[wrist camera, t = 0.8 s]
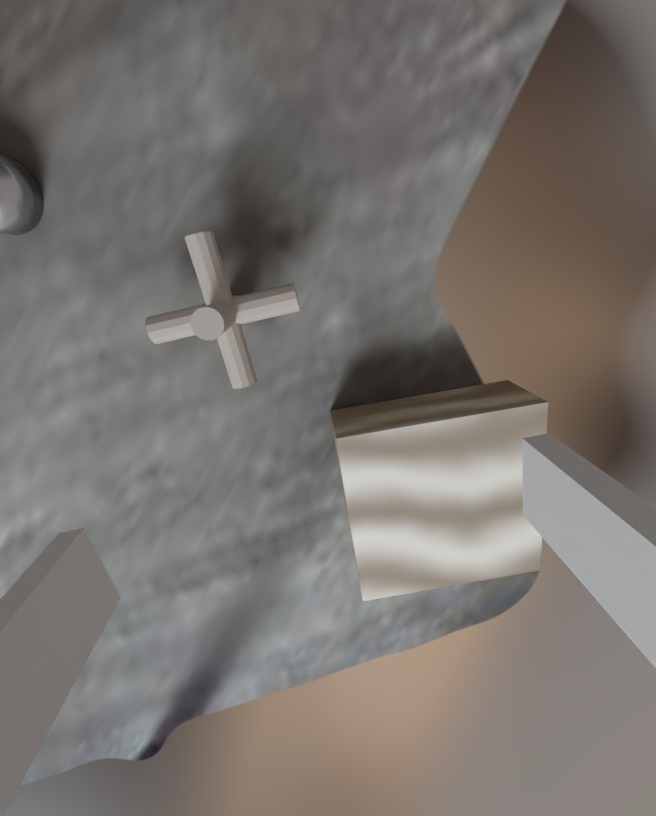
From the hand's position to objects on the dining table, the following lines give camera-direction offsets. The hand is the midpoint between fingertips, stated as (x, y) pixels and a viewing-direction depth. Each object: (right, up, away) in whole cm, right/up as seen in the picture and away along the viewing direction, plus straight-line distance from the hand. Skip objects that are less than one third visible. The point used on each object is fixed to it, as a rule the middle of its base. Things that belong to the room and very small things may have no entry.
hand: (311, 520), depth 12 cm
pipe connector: (-7, +11, +19) cm, 23 cm away
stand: (+10, -3, +25) cm, 27 cm away
